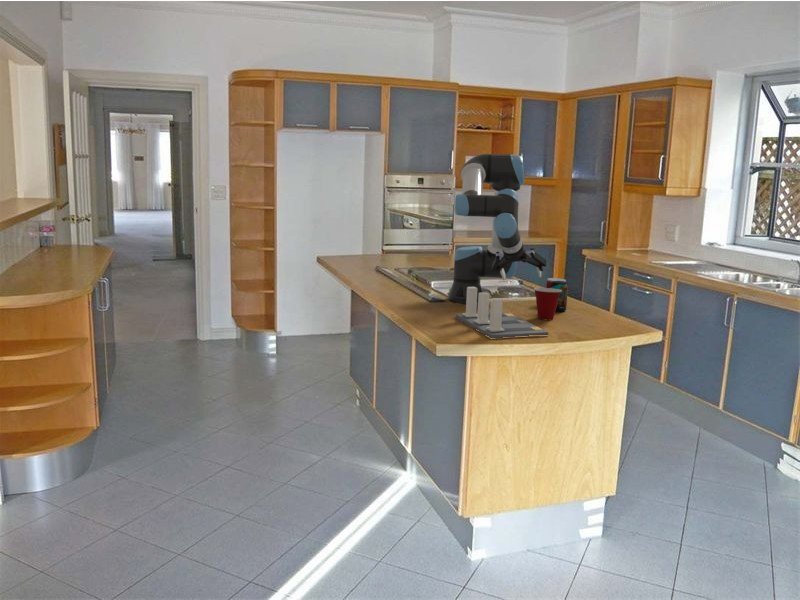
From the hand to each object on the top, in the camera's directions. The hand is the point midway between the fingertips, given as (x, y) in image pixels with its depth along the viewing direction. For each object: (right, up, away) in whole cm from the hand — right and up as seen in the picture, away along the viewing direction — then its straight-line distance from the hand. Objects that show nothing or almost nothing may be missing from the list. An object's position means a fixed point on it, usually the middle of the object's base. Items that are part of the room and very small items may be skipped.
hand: (522, 275), depth 267 cm
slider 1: (-19, -15, +1) cm, 25 cm away
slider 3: (-13, -20, -19) cm, 30 cm away
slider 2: (-16, -17, -9) cm, 25 cm away
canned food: (+20, -11, +36) cm, 42 cm away
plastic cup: (+11, -17, +9) cm, 22 cm away
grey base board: (-9, -19, -6) cm, 22 cm away
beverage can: (+19, -14, +24) cm, 33 cm away
